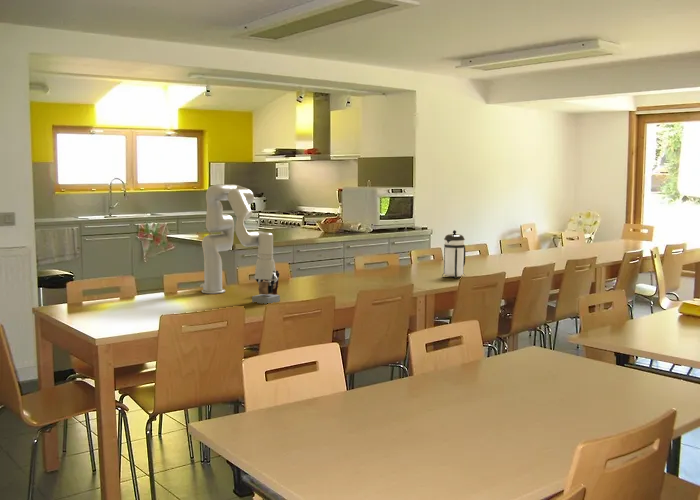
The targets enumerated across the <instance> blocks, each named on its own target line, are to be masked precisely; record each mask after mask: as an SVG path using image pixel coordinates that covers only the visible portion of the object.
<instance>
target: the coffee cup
mask: <svg viewBox="0 0 700 500" xmlns="http://www.w3.org/2000/svg"><path fill="white" fill-rule="evenodd" d="M276 276H277V278H278V280H277V281H276V282H275V283H274V285H273V293H272V295H279V294H278V288H279V279H280V272H279V270H276ZM273 280H274V279H273ZM264 281H268V280H264Z"/></svg>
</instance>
